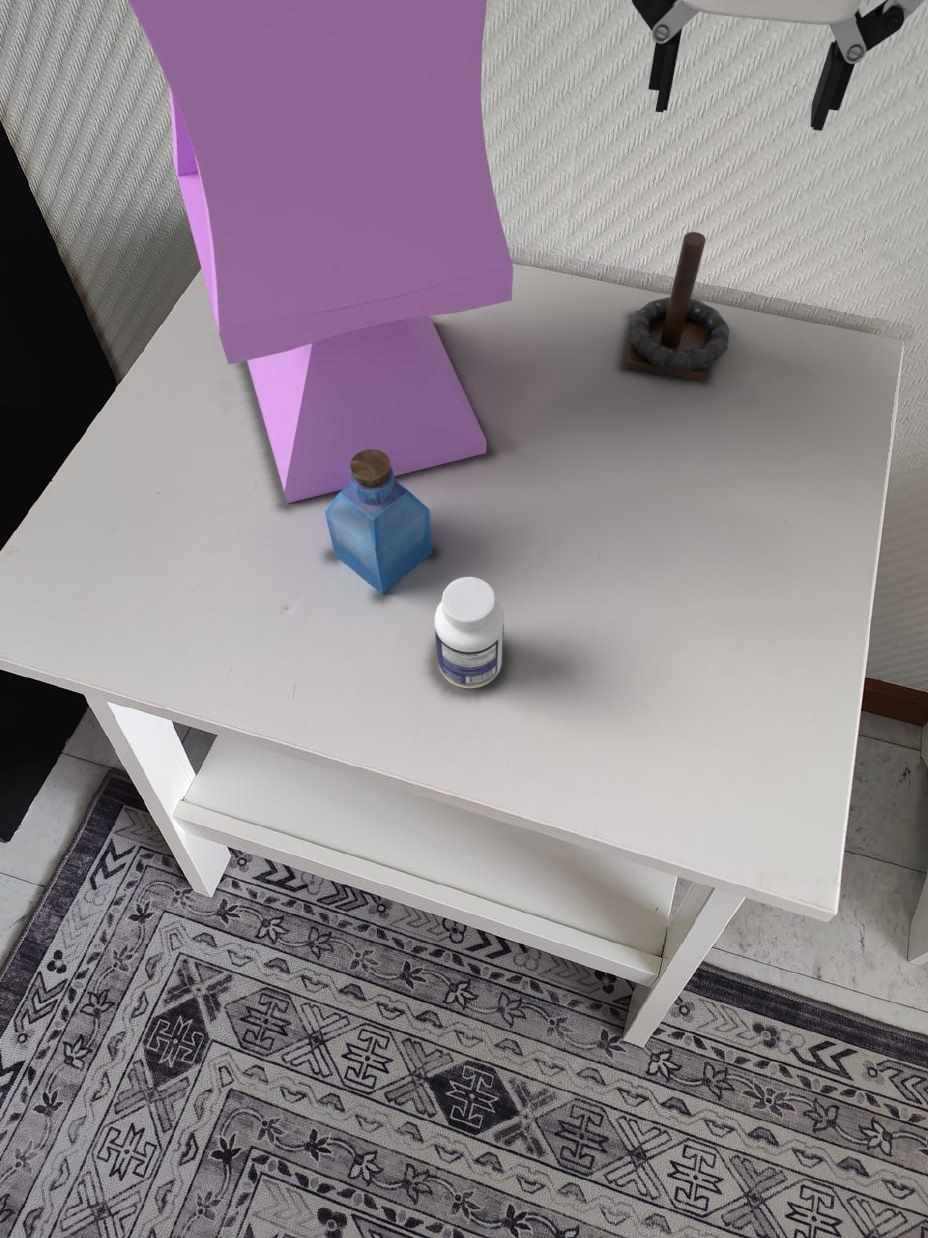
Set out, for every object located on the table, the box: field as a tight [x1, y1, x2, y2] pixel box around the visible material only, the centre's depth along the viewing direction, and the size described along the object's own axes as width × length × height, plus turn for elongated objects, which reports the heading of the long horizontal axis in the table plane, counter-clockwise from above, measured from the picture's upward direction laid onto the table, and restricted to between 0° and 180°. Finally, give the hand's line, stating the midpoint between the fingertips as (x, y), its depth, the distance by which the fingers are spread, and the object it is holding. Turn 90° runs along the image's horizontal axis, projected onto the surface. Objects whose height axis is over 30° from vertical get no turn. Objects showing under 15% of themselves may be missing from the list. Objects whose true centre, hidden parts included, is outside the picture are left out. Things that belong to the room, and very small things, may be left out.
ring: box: [628, 296, 730, 372], centre depth 91 cm, size 10×10×2 cm
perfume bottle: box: [324, 449, 433, 596], centre depth 74 cm, size 6×6×12 cm
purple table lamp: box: [127, 0, 514, 504], centre depth 70 cm, size 22×22×45 cm
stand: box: [625, 231, 709, 381], centre depth 87 cm, size 8×8×13 cm
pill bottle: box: [434, 576, 505, 689], centre depth 69 cm, size 5×5×10 cm
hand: (738, 109), depth 56 cm, fingers open, 9 cm apart
